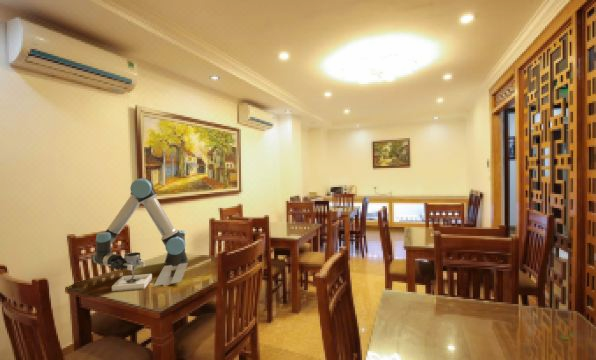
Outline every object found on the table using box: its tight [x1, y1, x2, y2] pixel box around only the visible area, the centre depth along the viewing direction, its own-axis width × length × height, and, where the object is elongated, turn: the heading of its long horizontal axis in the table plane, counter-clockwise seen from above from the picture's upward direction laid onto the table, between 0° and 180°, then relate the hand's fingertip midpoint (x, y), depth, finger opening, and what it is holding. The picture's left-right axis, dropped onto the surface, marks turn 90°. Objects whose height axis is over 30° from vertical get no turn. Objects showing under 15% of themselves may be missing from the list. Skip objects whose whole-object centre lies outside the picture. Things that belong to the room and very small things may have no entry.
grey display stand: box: [153, 262, 189, 287], centre depth 174 cm, size 16×9×15 cm
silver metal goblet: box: [123, 251, 141, 283], centre depth 168 cm, size 8×8×15 cm
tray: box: [111, 273, 153, 292], centre depth 168 cm, size 16×16×3 cm
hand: (138, 265), depth 166 cm, fingers closed on silver metal goblet, 7 cm apart
